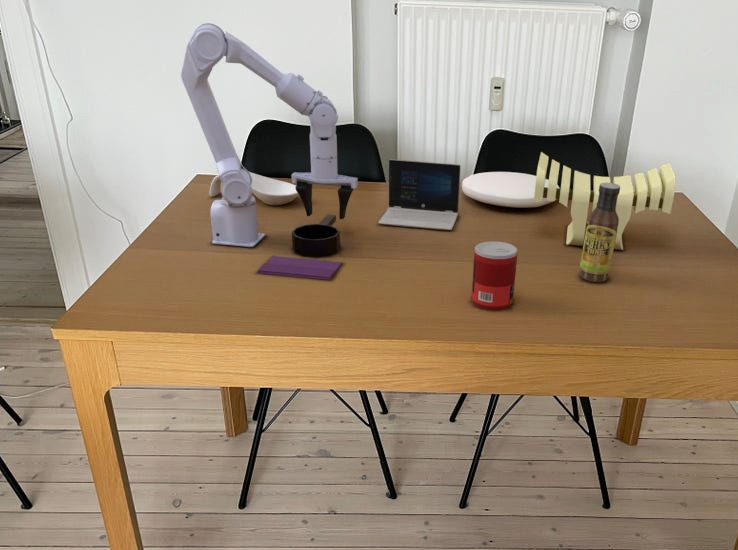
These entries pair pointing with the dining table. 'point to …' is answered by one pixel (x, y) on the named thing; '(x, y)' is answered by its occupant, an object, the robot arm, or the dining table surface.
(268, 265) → the rag
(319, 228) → the pan
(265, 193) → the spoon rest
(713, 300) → the dining table surface
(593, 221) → the sauce bottle
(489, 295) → the canned food
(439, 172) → the laptop
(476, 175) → the plate
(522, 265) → the dining table surface
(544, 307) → the dining table surface
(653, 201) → the slatted curved stool
